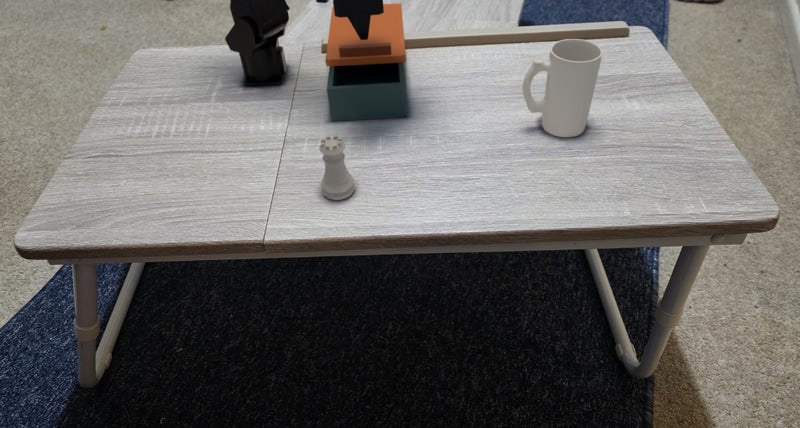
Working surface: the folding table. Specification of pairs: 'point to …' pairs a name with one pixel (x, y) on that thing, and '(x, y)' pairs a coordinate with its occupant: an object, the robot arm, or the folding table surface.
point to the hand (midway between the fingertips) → (364, 38)
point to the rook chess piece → (335, 170)
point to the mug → (565, 86)
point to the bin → (367, 91)
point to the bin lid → (379, 46)
